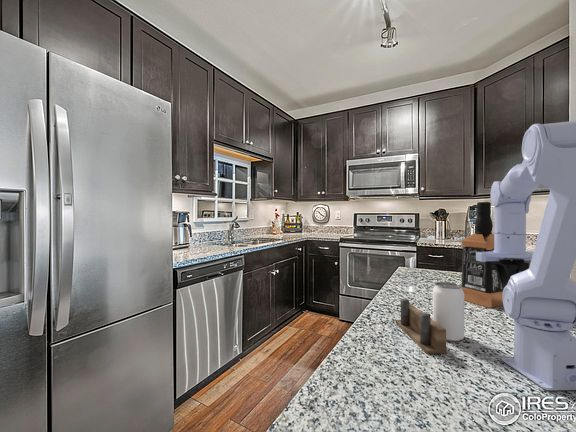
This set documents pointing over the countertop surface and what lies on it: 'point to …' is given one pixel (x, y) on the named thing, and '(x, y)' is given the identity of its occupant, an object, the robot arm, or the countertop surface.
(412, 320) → the rail
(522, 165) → the robot arm
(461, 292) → the can
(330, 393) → the countertop surface
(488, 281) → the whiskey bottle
